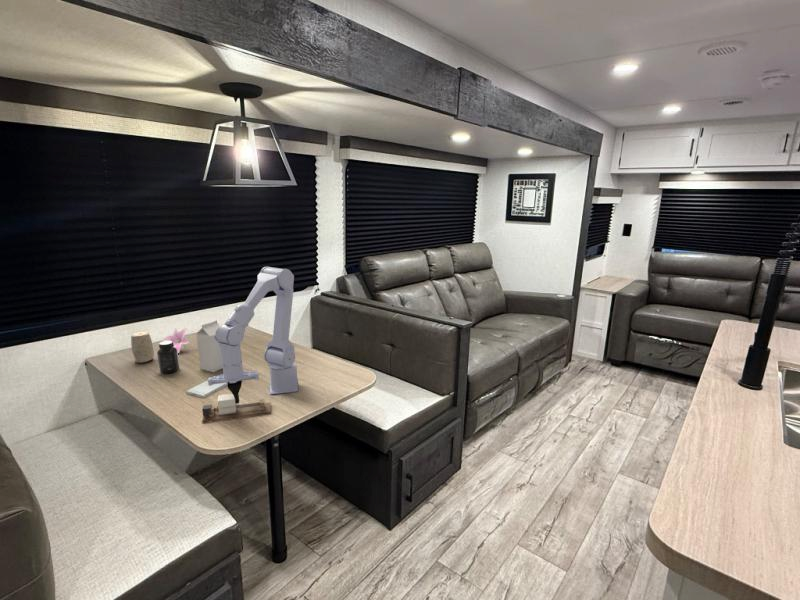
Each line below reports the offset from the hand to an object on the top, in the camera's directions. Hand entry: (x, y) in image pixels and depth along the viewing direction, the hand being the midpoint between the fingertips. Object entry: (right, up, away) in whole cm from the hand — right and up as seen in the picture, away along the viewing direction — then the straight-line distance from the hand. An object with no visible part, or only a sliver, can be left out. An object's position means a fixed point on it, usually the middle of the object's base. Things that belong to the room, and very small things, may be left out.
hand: (236, 402), depth 132 cm
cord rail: (0, -4, +1) cm, 4 cm away
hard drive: (-17, 0, +18) cm, 24 cm away
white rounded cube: (-3, -3, 0) cm, 4 cm away
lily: (-46, +10, +52) cm, 70 cm away
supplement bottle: (-38, +4, +31) cm, 49 cm away
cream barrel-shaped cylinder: (-54, +7, +40) cm, 68 cm away
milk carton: (-23, +5, +35) cm, 42 cm away
